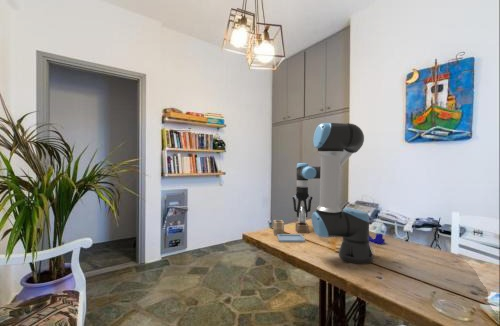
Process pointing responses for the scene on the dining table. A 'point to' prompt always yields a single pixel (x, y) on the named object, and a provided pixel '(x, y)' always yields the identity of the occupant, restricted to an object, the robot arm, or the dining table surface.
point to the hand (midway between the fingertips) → (302, 222)
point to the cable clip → (377, 239)
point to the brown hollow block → (302, 228)
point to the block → (278, 227)
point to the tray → (290, 238)
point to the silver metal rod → (301, 215)
